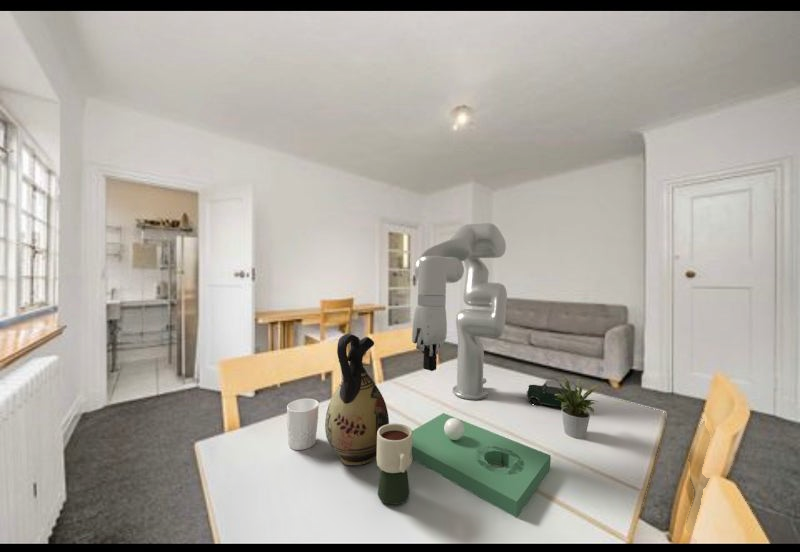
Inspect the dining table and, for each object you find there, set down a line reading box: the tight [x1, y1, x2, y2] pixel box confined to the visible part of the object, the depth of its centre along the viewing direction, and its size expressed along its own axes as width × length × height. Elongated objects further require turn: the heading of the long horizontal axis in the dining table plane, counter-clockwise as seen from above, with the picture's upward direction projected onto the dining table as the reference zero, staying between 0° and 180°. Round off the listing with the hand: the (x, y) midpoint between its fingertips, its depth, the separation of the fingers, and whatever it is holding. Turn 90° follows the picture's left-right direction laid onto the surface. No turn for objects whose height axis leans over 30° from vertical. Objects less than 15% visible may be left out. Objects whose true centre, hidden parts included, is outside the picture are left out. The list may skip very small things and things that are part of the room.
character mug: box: [376, 423, 413, 505], centre depth 61 cm, size 11×7×13 cm, turn 20°
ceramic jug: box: [324, 333, 390, 466], centre depth 74 cm, size 17×15×30 cm
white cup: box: [286, 398, 320, 451], centre depth 79 cm, size 8×8×10 cm
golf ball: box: [444, 417, 464, 440], centre depth 77 cm, size 5×5×5 cm
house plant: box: [547, 375, 602, 440], centre depth 87 cm, size 14×14×16 cm
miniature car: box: [526, 379, 583, 408], centre depth 106 cm, size 9×18×8 cm, turn 62°
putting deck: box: [412, 412, 552, 519], centre depth 73 cm, size 30×20×3 cm, turn 47°
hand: (429, 369), depth 82 cm, fingers closed
